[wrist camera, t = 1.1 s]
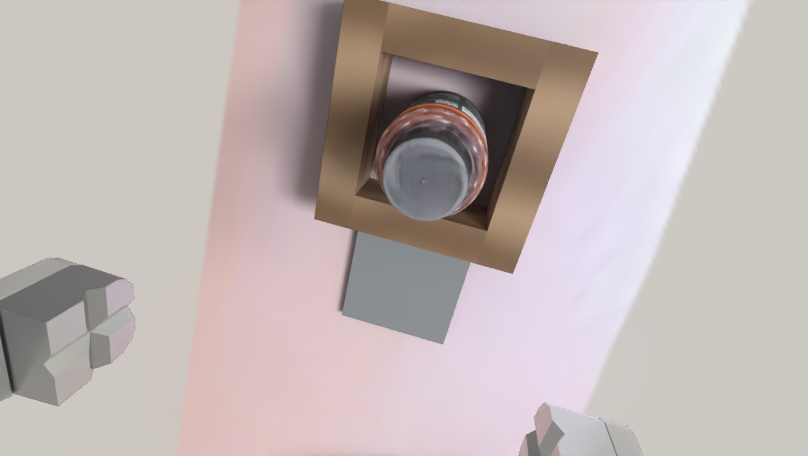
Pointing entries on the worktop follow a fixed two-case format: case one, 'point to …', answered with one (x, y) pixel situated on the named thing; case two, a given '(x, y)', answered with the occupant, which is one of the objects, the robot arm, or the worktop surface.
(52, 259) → the robot arm
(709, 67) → the worktop surface
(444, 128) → the supplement bottle
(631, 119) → the worktop surface
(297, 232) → the worktop surface
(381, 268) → the grey mat
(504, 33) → the frame
